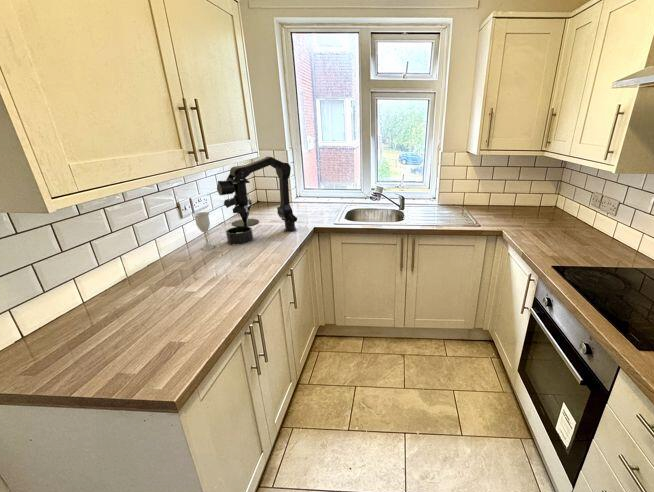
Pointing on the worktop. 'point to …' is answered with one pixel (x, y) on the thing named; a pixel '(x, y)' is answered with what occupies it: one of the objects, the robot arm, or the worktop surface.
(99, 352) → the worktop surface
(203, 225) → the chalice
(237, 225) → the tin lid
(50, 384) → the worktop surface
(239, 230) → the tin
